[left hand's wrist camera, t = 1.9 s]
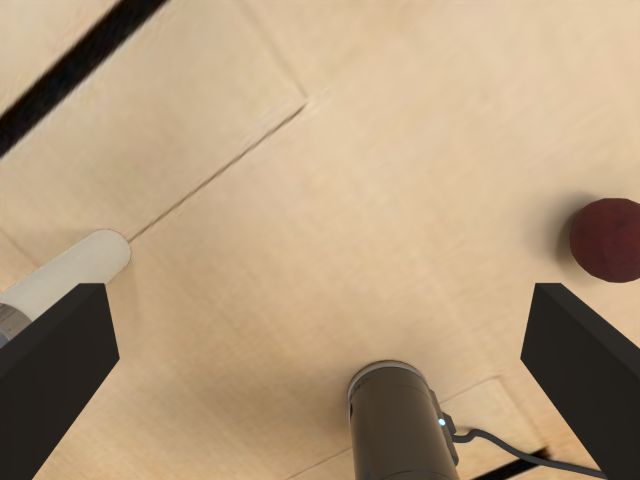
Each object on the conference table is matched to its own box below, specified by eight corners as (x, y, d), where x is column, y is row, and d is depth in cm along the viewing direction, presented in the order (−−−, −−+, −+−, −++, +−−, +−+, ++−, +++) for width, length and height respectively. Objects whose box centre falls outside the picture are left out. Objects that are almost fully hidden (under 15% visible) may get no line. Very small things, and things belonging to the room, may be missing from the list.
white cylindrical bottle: (76, 242, 42) (-71, 339, 26) (111, 221, 41) (-20, 307, 25) (106, 277, 43) (-17, 389, 28) (140, 257, 43) (34, 360, 27)
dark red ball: (571, 274, 43) (617, 309, 36) (541, 215, 41) (584, 240, 34) (641, 237, 42) (702, 266, 35) (614, 173, 39) (674, 192, 33)
